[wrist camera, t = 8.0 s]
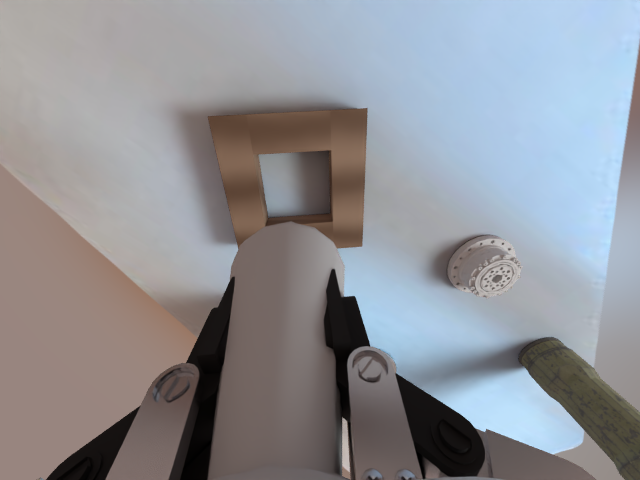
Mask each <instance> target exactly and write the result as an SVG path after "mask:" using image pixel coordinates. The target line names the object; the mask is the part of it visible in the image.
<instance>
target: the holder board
mask: <svg viewBox="0 0 640 480" xmlns="http://www.w3.org/2000/svg"><path fill="white" fill-rule="evenodd" d="M208 120H209V124H210V129H211V133H212V137H213V141H214V146H215V150H216V154H217V159H218V163H219V167H220V172H221V176H222V180H223V184H224V189H225V193H226V197H227V202H228V206H229V210H230V215H231V219H232V223H233V227H234V232H235V236H236V240H237V245H238V249H239V247H240V245H241V244H242V243H243V242H244V241H245V240H246V239H248V238H249V237H251V236H252V235H253V234H255V233H256V232H257V231H259V230H260V229H262V228H263V227H266V226H270V225H275V224H280V223H285V222H290V221H292V222H294V223H297V224H301V225H306V226H310V227H314V228H316V229H317V230H318V231H320V232H321V233H322V234H324V235H325V236H326V237H327V238H329V239H330V240H331V241H333V242H334V244H335V246H336V248H348V247H362V239H363V213H364V187H365V161H366V135H367V108H363V109H343V110H324V111H305V112H285V113H266V114H246V115H227V116H208ZM325 150H329V182H330V214H316V215H302V216H287V217H273V218H268V213H267V207H266V201H265V194H264V188H263V182H262V175H261V169H260V162H259V156H258V154H274V153H291V152H308V151H325Z"/></svg>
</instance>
